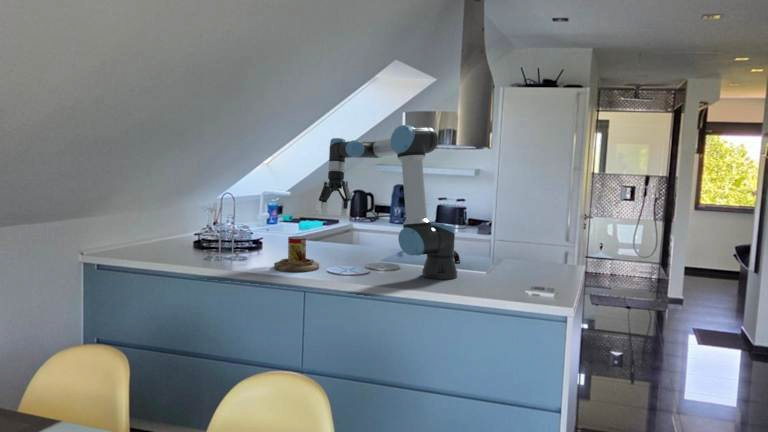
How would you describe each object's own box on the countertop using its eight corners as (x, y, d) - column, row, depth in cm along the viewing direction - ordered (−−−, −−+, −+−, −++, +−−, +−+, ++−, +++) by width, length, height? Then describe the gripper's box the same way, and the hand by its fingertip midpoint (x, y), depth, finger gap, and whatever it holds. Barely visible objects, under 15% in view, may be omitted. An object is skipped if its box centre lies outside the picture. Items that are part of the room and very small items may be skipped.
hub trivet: (328, 269, 282) (328, 261, 282) (291, 274, 268) (291, 266, 268) (301, 262, 296) (301, 255, 296) (265, 267, 283) (265, 259, 282)
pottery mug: (462, 265, 303) (455, 251, 300) (444, 273, 304) (437, 259, 302) (460, 255, 314) (453, 241, 311) (443, 262, 316) (436, 249, 313)
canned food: (306, 265, 279) (307, 238, 278) (288, 265, 277) (289, 238, 276) (304, 262, 287) (304, 236, 286) (287, 262, 285) (287, 236, 284)
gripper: (360, 171, 291) (358, 216, 290) (324, 173, 308) (322, 216, 307) (348, 168, 286) (346, 215, 285) (313, 171, 303) (310, 215, 302)
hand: (333, 216), depth 296 cm, fingers open, 13 cm apart
